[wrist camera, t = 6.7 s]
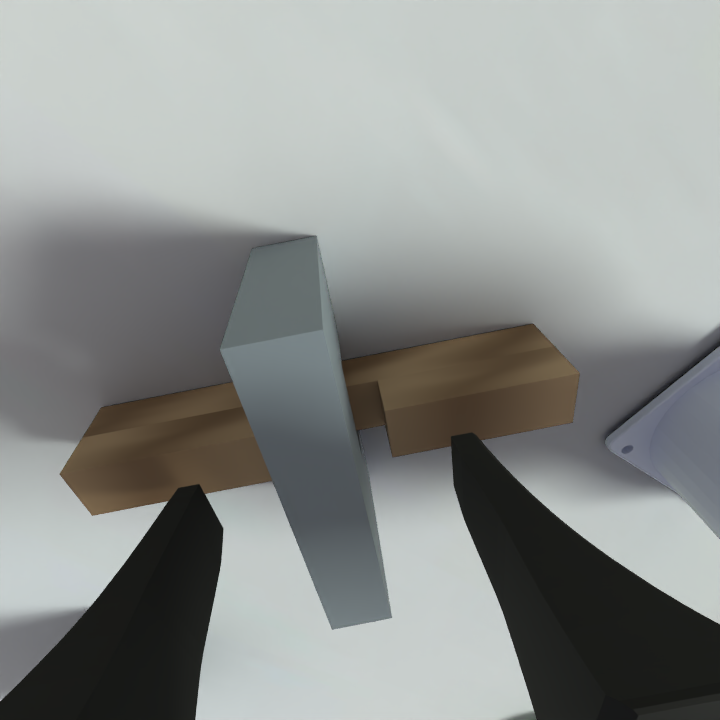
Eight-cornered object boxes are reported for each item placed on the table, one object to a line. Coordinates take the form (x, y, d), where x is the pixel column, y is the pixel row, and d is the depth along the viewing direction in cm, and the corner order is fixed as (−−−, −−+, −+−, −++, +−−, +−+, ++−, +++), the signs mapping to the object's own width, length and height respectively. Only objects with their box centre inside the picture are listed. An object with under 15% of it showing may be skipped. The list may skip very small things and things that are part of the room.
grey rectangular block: (369, 478, 19) (392, 618, 14) (325, 487, 19) (332, 629, 14) (316, 235, 13) (322, 329, 8) (252, 248, 13) (219, 349, 8)
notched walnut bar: (533, 323, 16) (579, 372, 13) (530, 368, 17) (572, 422, 14) (101, 407, 16) (59, 474, 13) (126, 446, 17) (92, 515, 14)
